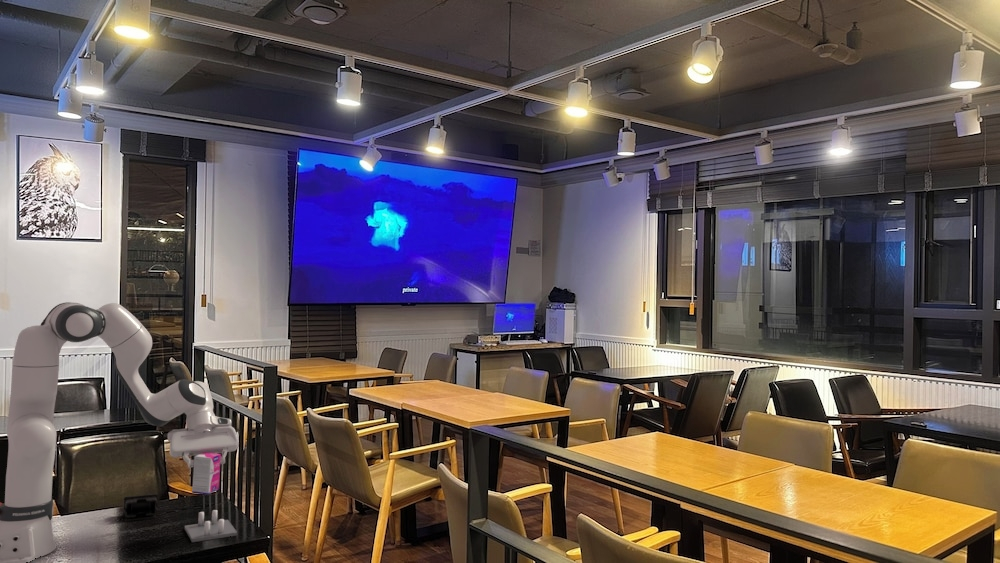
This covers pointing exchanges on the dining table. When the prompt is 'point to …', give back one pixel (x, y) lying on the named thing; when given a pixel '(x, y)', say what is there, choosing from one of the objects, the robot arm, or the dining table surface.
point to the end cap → (140, 507)
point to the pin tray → (210, 528)
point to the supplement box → (206, 473)
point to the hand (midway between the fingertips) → (207, 464)
